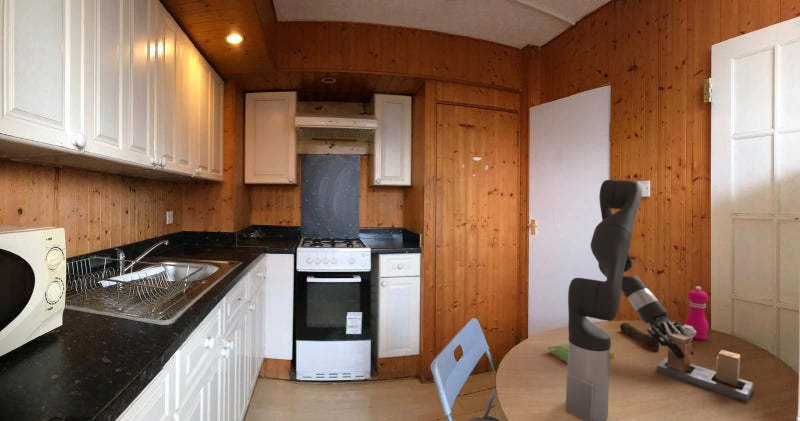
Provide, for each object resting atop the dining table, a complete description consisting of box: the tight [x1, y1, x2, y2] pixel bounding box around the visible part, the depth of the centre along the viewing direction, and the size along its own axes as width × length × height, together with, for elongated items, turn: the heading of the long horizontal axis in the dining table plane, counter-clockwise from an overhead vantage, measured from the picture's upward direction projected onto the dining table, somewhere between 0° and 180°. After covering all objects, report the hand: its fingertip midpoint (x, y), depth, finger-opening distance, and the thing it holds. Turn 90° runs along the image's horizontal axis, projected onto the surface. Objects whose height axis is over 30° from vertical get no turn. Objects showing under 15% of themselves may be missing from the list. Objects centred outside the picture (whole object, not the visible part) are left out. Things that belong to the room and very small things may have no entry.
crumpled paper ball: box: [673, 324, 697, 342], centre depth 130 cm, size 6×7×7 cm
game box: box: [546, 344, 615, 364], centre depth 118 cm, size 3×10×20 cm
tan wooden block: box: [667, 333, 693, 372], centre depth 107 cm, size 4×4×10 cm
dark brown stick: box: [619, 322, 660, 352], centre depth 131 cm, size 19×4×5 cm, turn 176°
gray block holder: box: [656, 349, 754, 403], centre depth 103 cm, size 20×10×10 cm, turn 38°
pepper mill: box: [684, 285, 710, 340], centre depth 136 cm, size 7×7×20 cm
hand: (686, 356), depth 105 cm, fingers closed on tan wooden block, 4 cm apart
